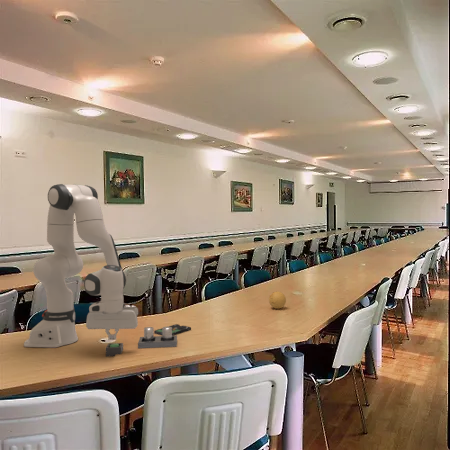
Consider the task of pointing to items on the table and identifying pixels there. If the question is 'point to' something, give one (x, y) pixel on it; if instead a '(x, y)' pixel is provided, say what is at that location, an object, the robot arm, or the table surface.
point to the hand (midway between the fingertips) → (112, 339)
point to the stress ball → (277, 300)
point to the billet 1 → (148, 334)
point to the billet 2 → (167, 333)
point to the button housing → (114, 349)
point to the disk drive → (174, 330)
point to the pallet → (157, 342)
